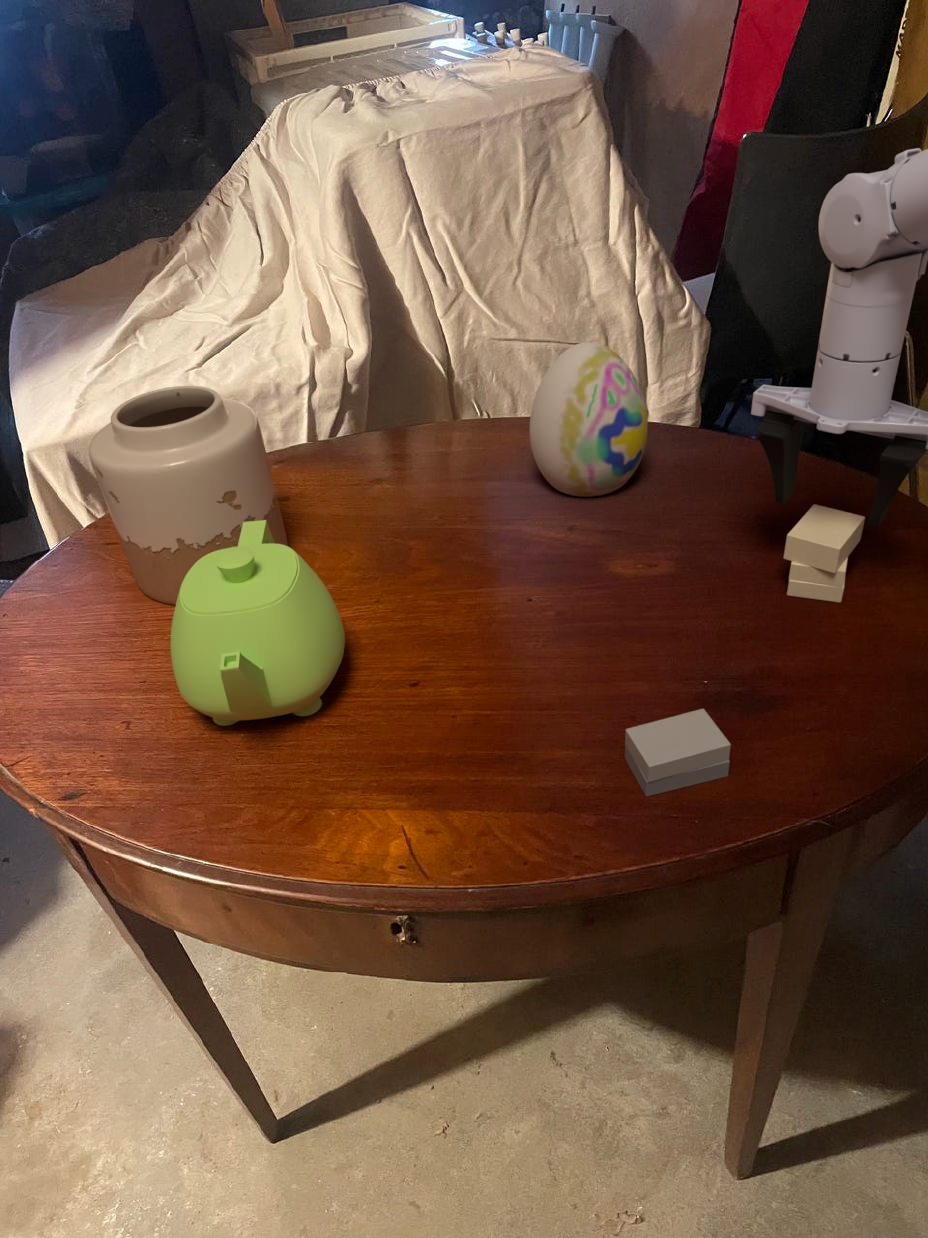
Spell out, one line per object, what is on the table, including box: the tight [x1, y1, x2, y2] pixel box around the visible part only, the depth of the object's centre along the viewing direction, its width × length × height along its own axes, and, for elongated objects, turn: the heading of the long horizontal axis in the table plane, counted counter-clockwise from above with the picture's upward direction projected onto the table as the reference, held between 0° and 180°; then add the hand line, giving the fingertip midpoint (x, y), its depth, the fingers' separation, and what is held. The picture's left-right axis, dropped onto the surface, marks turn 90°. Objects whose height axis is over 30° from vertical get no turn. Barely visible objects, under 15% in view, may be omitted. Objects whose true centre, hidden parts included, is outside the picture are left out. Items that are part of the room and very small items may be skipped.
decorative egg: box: [529, 341, 649, 498], centre depth 91 cm, size 12×12×15 cm
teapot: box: [170, 520, 346, 727], centre depth 68 cm, size 20×13×13 cm
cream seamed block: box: [786, 556, 849, 604], centre depth 76 cm, size 6×4×3 cm
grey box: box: [624, 708, 732, 798], centre depth 60 cm, size 6×4×3 cm, turn 104°
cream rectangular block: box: [783, 503, 866, 573], centre depth 75 cm, size 6×4×2 cm
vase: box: [88, 385, 289, 606], centre depth 83 cm, size 15×15×17 cm
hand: (829, 509), depth 73 cm, fingers open, 7 cm apart
